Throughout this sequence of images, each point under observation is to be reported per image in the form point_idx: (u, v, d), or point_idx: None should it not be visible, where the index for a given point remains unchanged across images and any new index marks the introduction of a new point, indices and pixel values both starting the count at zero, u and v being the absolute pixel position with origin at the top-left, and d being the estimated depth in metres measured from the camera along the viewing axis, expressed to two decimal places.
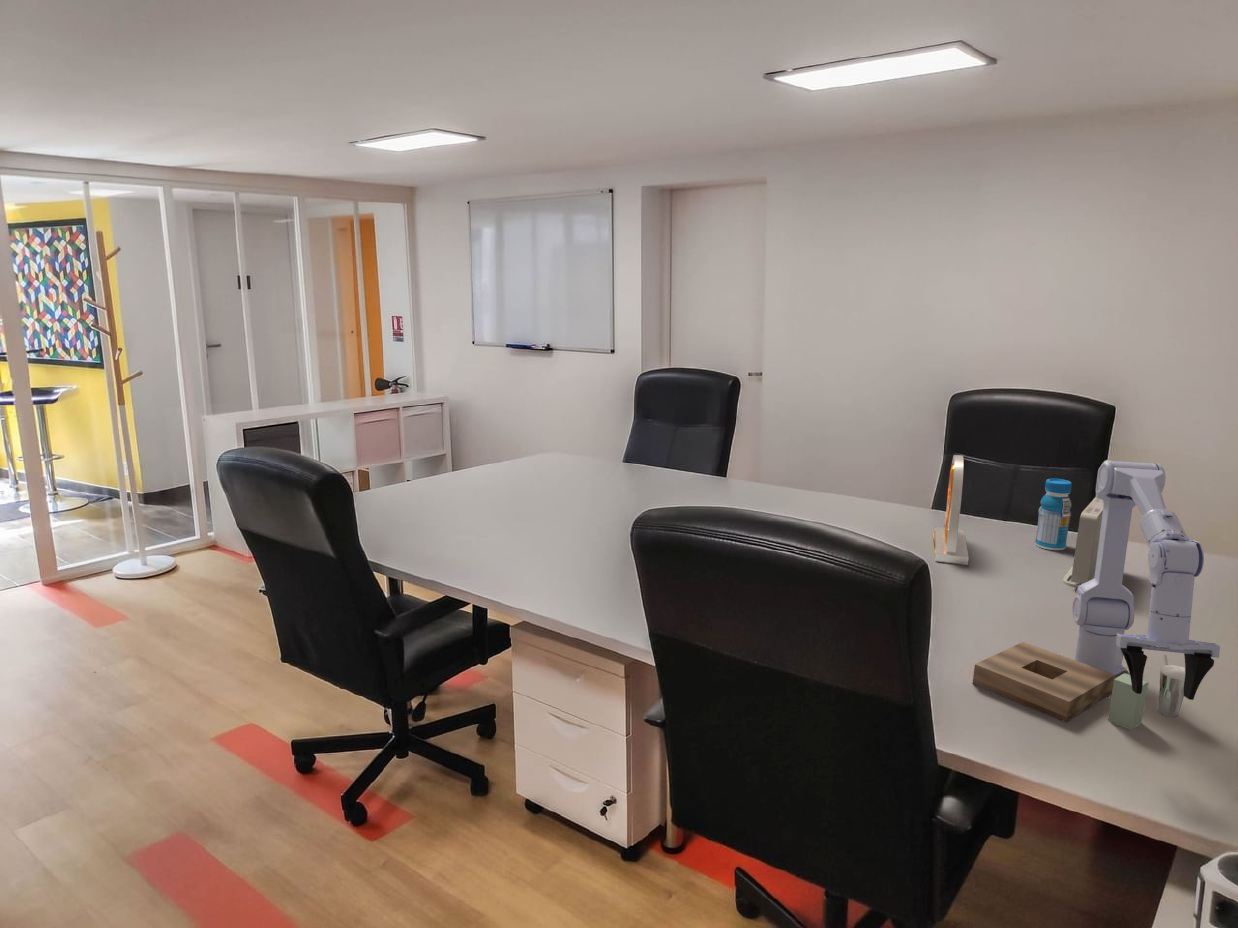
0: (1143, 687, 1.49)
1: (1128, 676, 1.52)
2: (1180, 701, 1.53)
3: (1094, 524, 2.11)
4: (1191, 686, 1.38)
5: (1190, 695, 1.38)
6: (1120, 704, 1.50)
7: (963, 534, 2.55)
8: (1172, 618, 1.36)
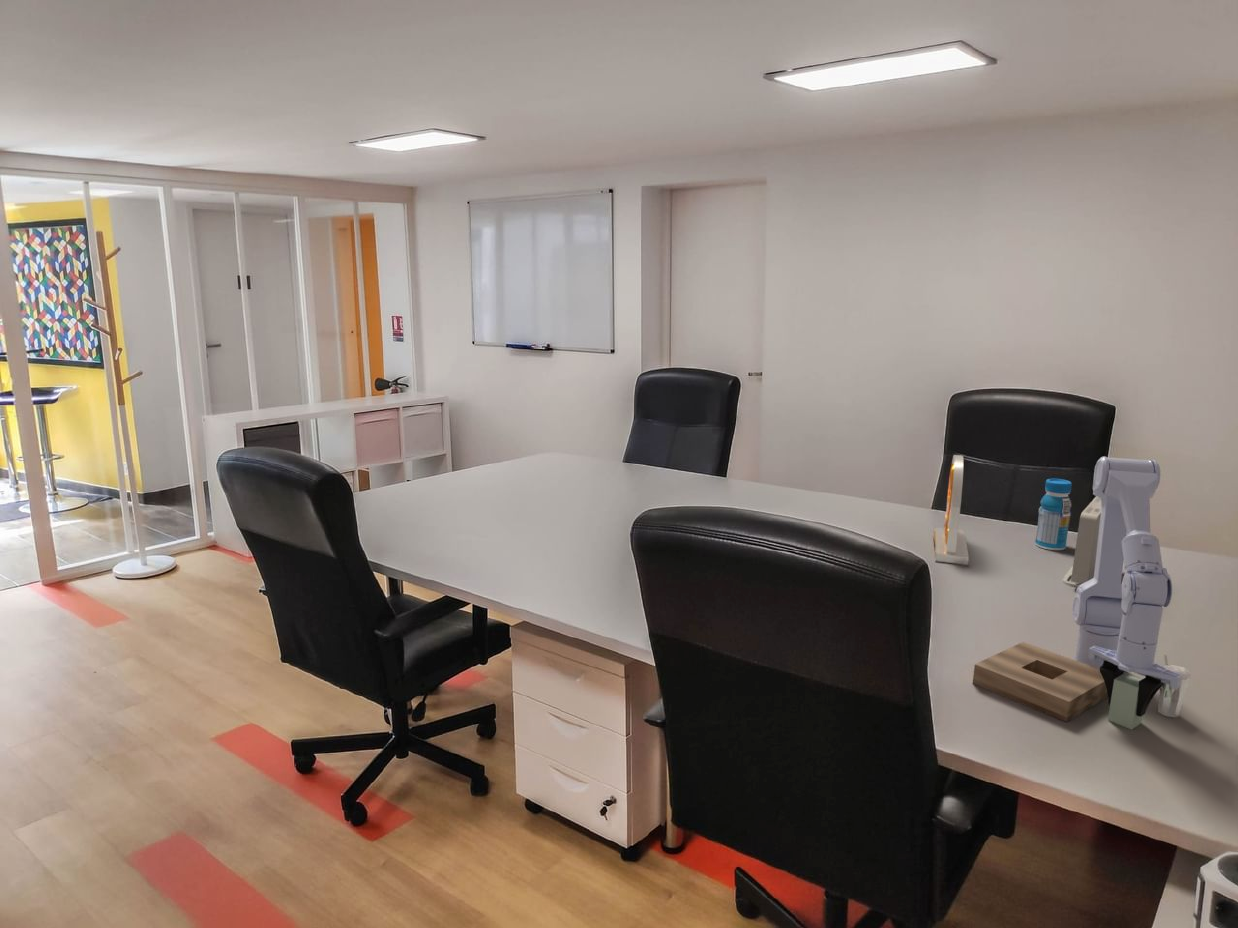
0: None
1: (1128, 676, 1.52)
2: (1180, 701, 1.53)
3: (1094, 524, 2.11)
4: (1138, 704, 1.49)
5: (1136, 712, 1.49)
6: (1120, 703, 1.50)
7: (963, 534, 2.55)
8: (1126, 642, 1.48)
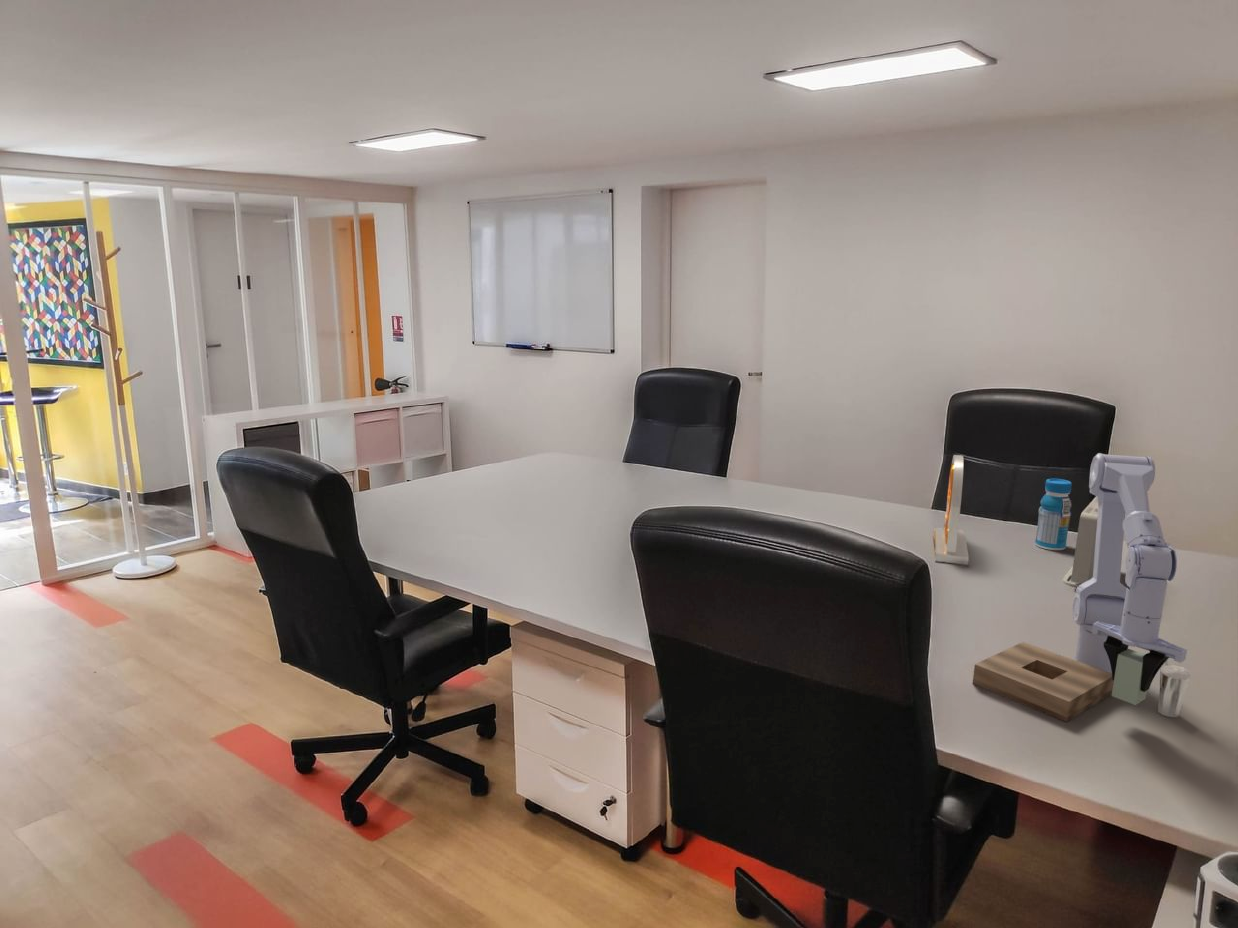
0: None
1: (1132, 651, 1.51)
2: (1180, 701, 1.53)
3: (1094, 524, 2.11)
4: (1142, 679, 1.48)
5: (1140, 687, 1.48)
6: (1124, 679, 1.49)
7: (963, 534, 2.55)
8: (1131, 616, 1.47)
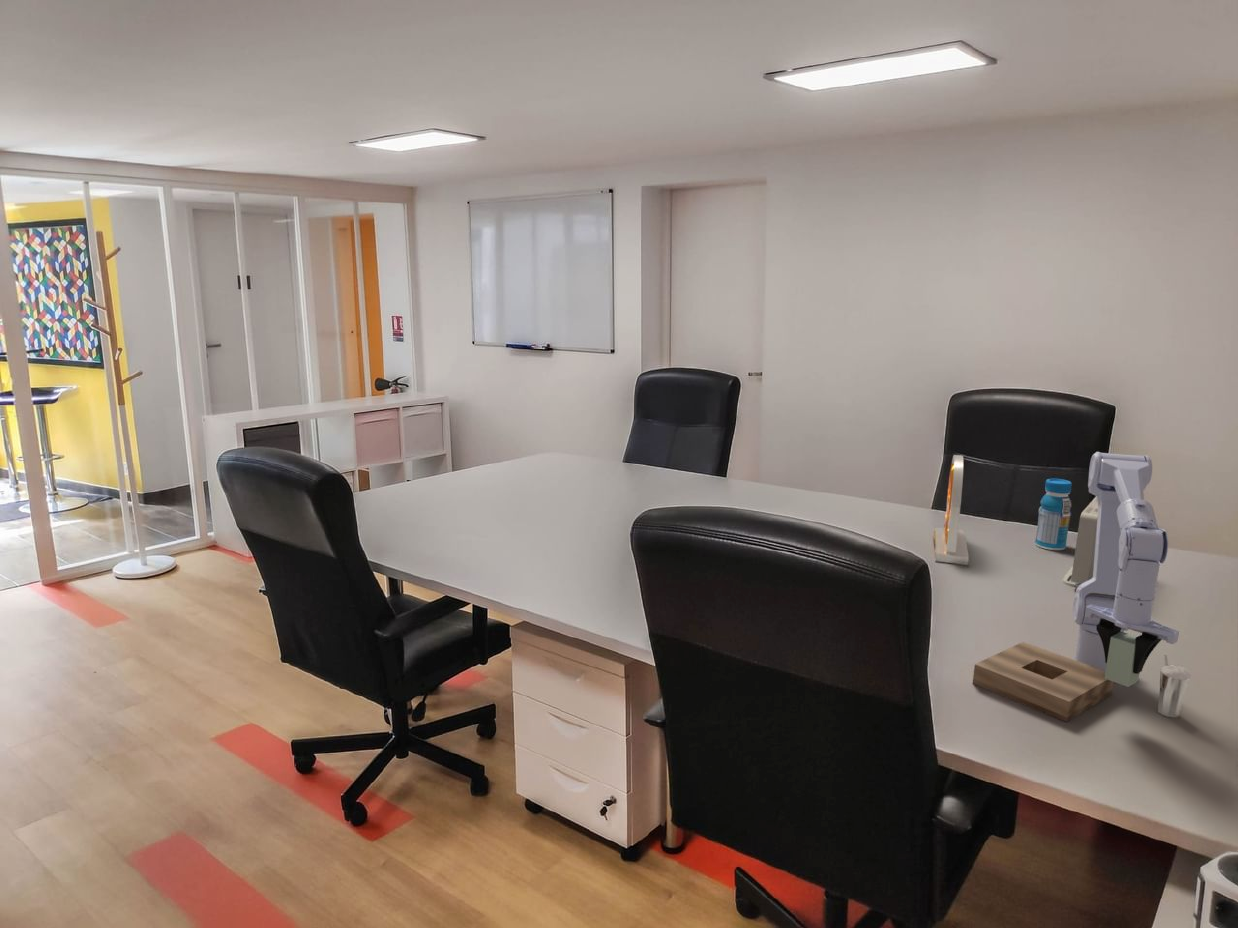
0: None
1: (1125, 634, 1.51)
2: (1180, 701, 1.53)
3: (1094, 524, 2.11)
4: None
5: (1133, 669, 1.49)
6: (1117, 661, 1.50)
7: (963, 534, 2.55)
8: (1123, 598, 1.47)
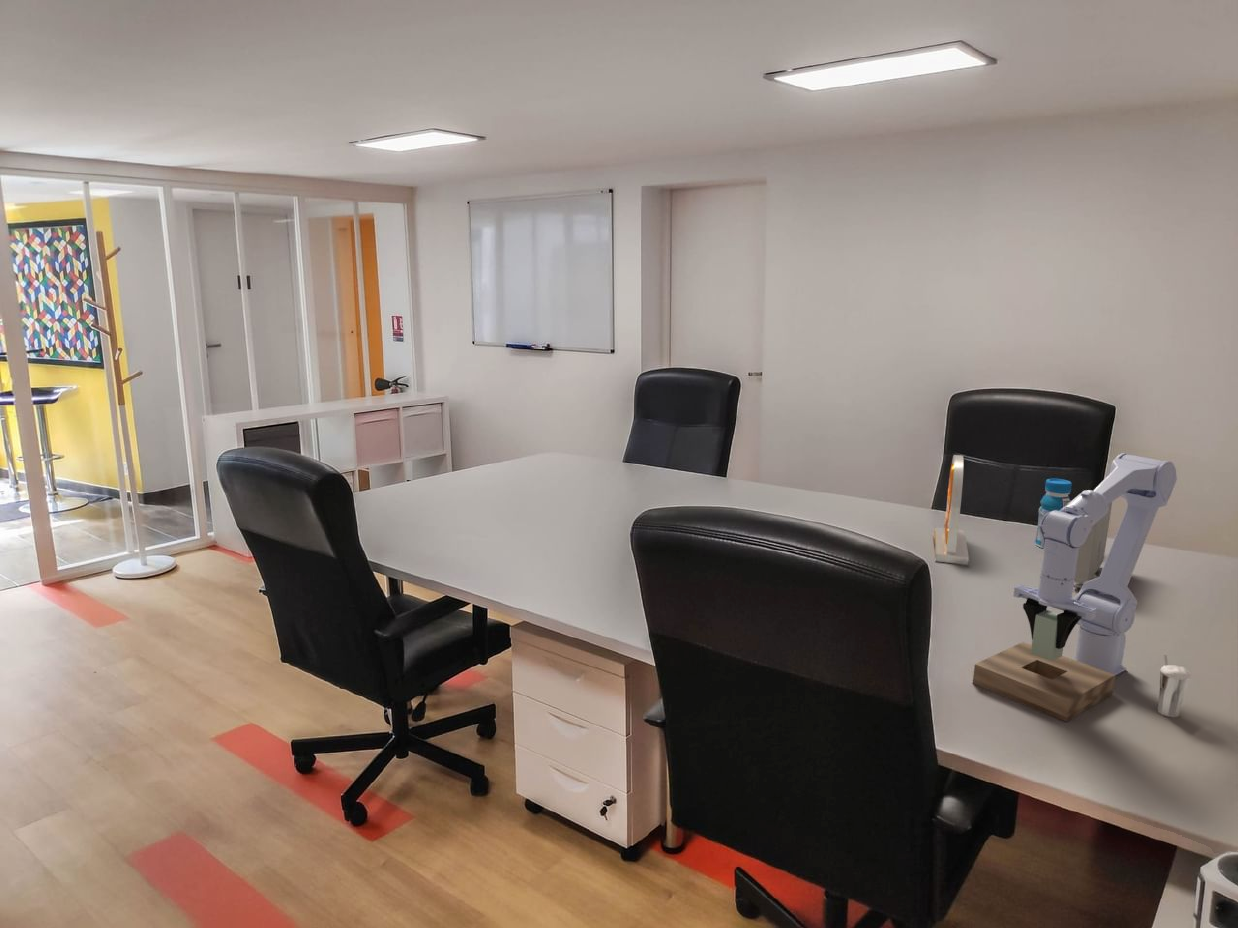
0: None
1: (1049, 612, 1.62)
2: (1180, 701, 1.53)
3: (1094, 524, 2.11)
4: (1057, 637, 1.59)
5: (1056, 644, 1.59)
6: (1041, 637, 1.60)
7: (963, 534, 2.55)
8: (1046, 578, 1.58)
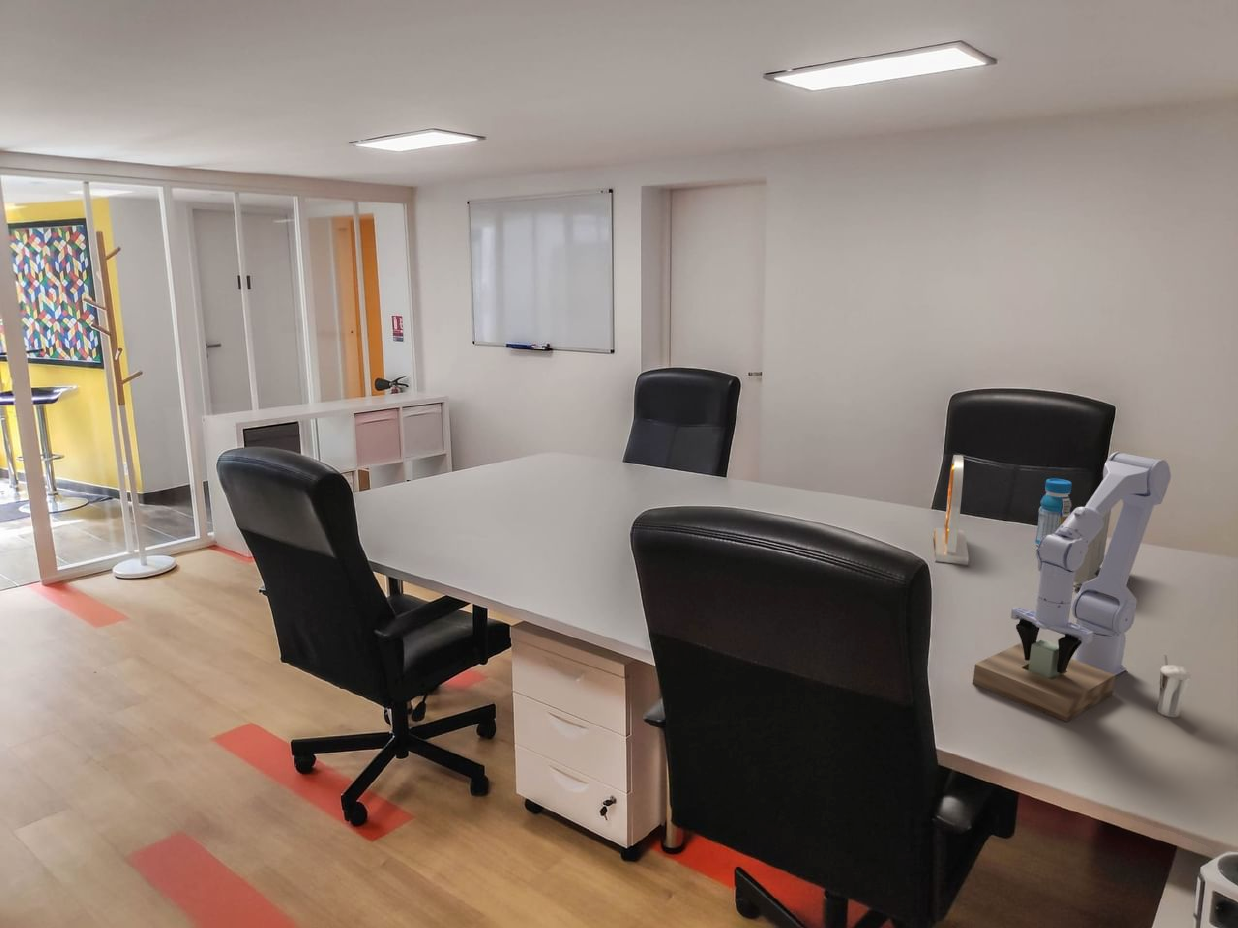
0: (1058, 651, 1.60)
1: (1045, 641, 1.63)
2: (1180, 701, 1.53)
3: None
4: (1058, 661, 1.59)
5: (1057, 668, 1.60)
6: (1037, 667, 1.62)
7: (963, 534, 2.55)
8: (1043, 601, 1.59)
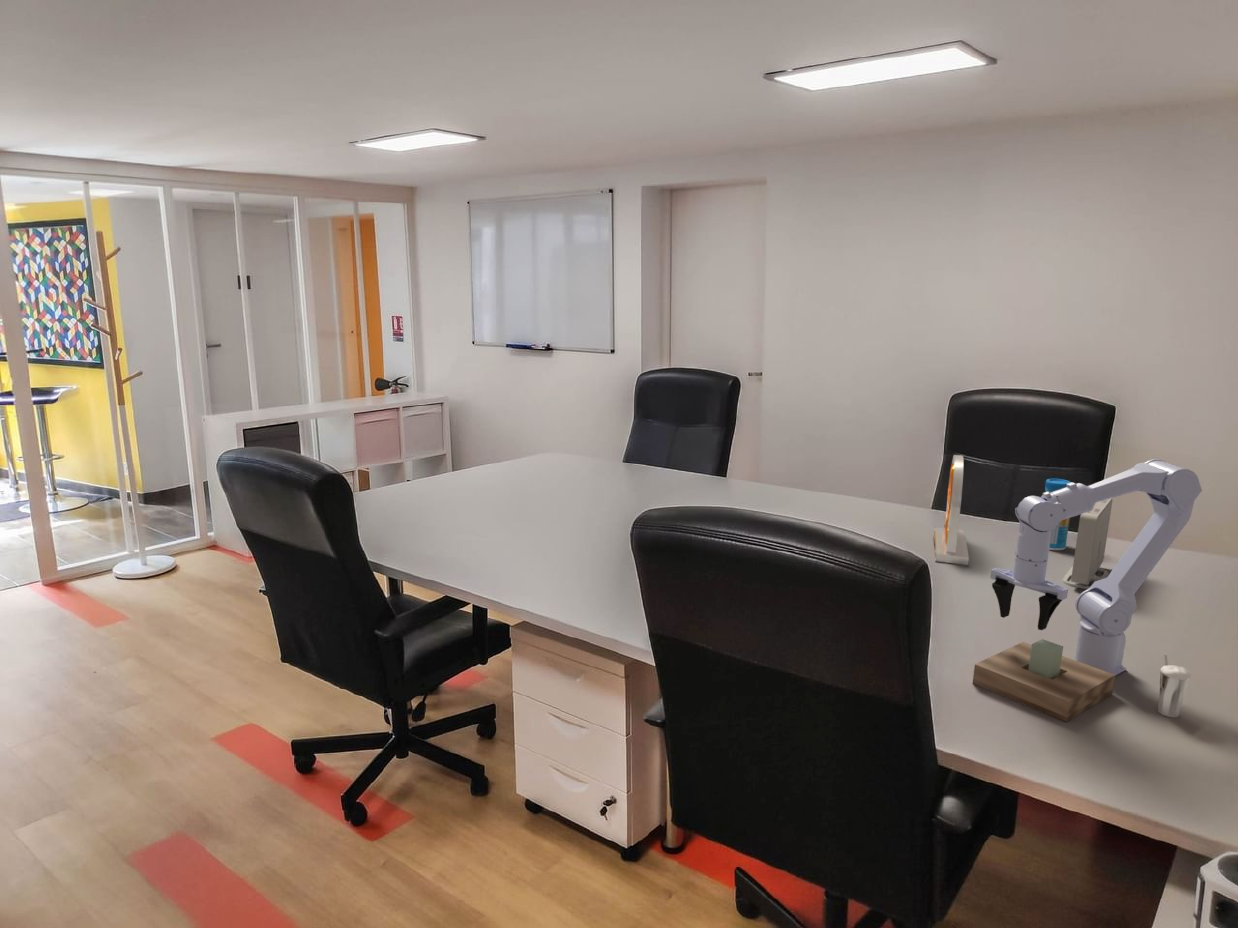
0: (1058, 651, 1.60)
1: (1045, 641, 1.63)
2: (1180, 701, 1.53)
3: (1094, 524, 2.11)
4: (1039, 619, 1.66)
5: (1038, 626, 1.66)
6: (1037, 667, 1.62)
7: (963, 534, 2.55)
8: (1020, 560, 1.66)
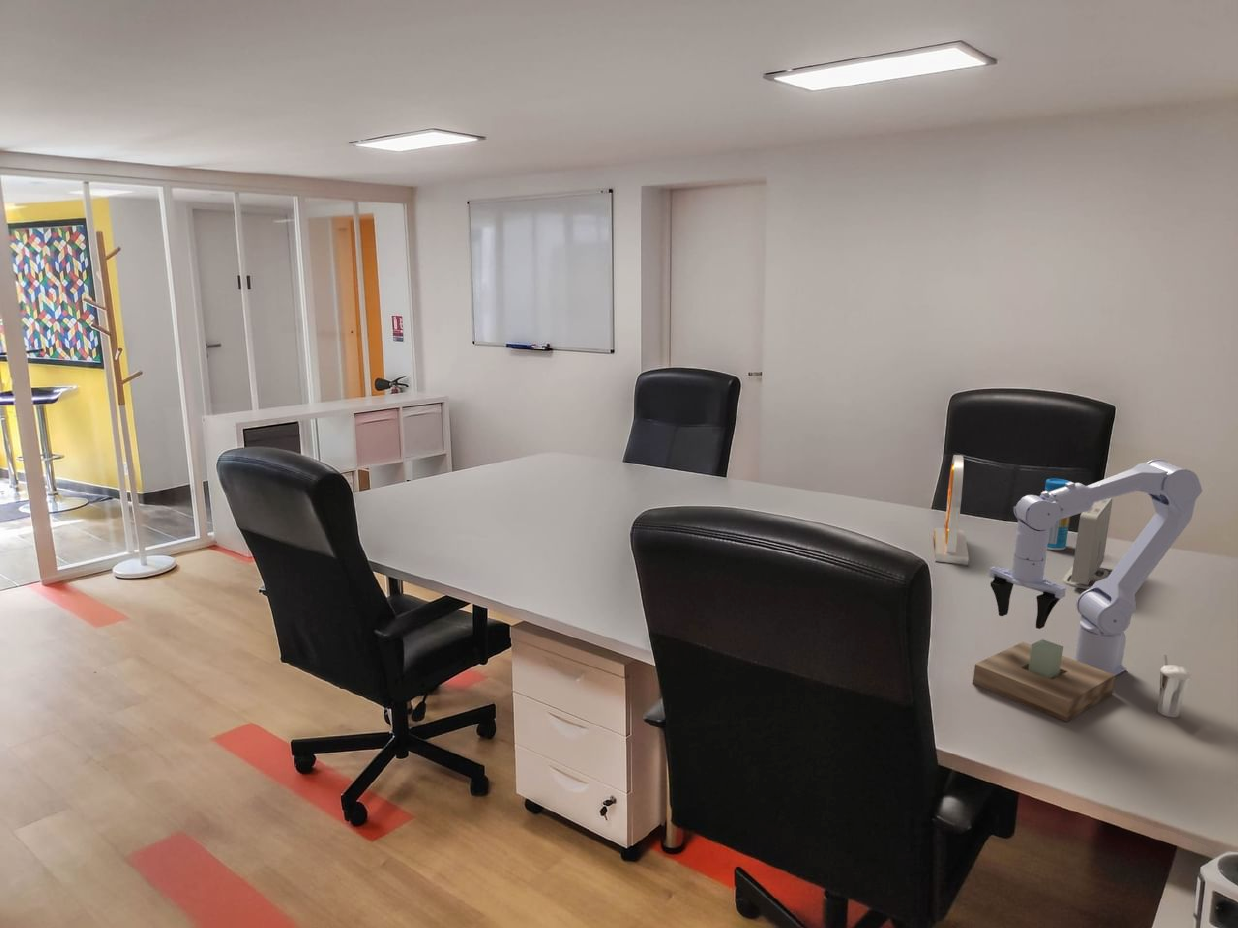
0: (1058, 651, 1.60)
1: (1045, 641, 1.63)
2: (1180, 701, 1.53)
3: (1094, 524, 2.11)
4: (1037, 617, 1.67)
5: (1036, 624, 1.67)
6: (1037, 667, 1.62)
7: (963, 534, 2.55)
8: (1018, 559, 1.67)
